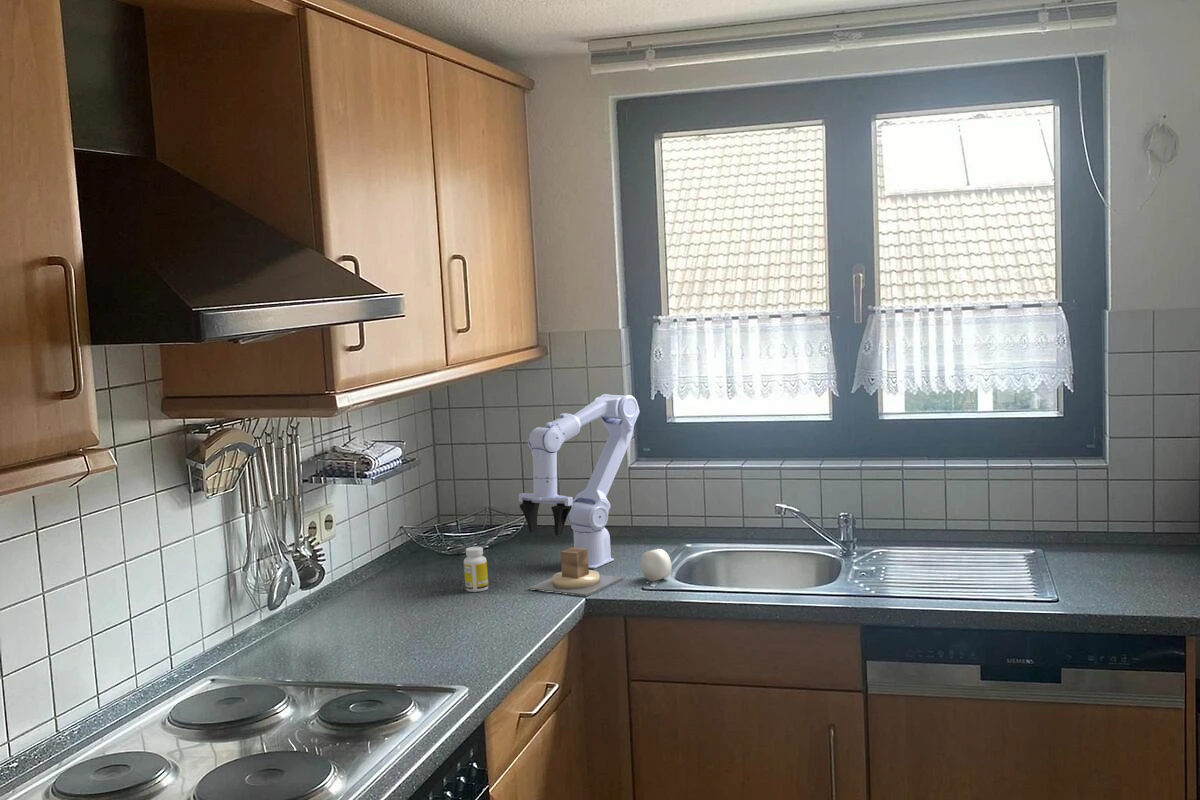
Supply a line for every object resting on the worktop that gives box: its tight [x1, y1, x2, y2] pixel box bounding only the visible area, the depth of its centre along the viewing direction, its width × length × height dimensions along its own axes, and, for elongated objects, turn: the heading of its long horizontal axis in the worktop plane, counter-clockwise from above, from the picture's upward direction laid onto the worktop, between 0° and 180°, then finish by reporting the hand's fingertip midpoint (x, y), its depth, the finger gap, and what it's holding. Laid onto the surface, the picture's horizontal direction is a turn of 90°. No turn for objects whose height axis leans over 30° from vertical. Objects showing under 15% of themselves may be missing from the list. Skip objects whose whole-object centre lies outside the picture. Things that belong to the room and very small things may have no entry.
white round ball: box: [640, 548, 672, 582], centre depth 276 cm, size 7×7×4 cm
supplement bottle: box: [463, 546, 489, 593], centre depth 275 cm, size 5×5×10 cm
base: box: [527, 569, 624, 597], centre depth 275 cm, size 16×16×2 cm
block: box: [560, 547, 590, 579], centre depth 274 cm, size 4×4×6 cm
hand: (545, 533), depth 284 cm, fingers open, 7 cm apart
